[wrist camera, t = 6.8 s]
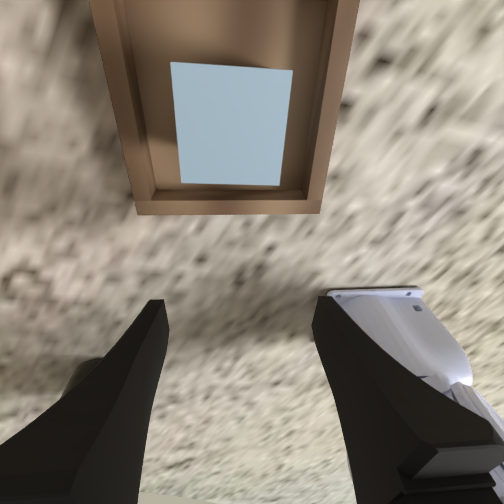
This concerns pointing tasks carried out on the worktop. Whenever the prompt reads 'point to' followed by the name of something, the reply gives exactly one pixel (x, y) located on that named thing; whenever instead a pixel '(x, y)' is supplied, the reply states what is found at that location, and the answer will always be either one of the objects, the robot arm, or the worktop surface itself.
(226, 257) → the worktop surface
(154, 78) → the tray
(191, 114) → the block
